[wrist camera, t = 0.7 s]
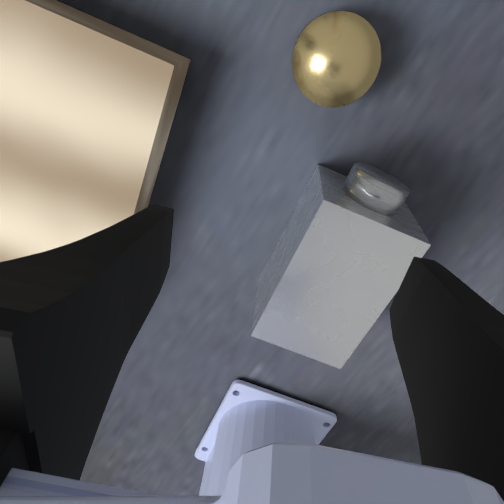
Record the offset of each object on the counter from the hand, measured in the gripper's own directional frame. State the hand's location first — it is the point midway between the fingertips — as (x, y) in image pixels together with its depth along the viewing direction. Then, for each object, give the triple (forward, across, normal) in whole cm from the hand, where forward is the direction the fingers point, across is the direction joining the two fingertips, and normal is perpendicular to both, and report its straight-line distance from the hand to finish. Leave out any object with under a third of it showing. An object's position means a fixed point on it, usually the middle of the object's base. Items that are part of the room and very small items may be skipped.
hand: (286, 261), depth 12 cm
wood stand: (+10, +11, +3) cm, 15 cm away
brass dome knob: (+10, -1, -5) cm, 11 cm away
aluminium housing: (+10, -3, +5) cm, 11 cm away
